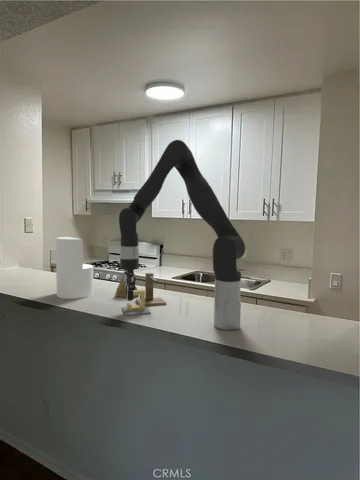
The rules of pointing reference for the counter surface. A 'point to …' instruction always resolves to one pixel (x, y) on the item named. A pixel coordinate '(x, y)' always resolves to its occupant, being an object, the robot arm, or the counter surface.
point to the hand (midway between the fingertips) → (129, 298)
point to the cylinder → (72, 270)
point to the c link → (142, 301)
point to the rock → (123, 290)
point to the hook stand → (150, 292)
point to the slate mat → (135, 311)
